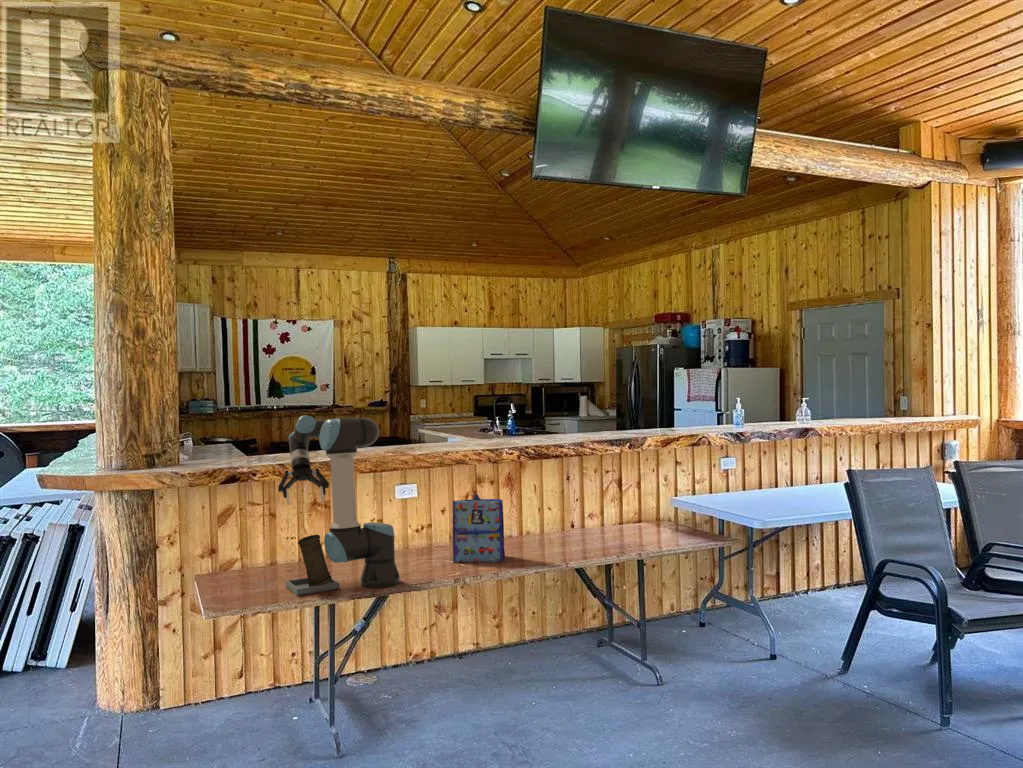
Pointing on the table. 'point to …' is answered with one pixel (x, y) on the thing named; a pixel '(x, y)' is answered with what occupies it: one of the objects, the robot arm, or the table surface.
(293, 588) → the tray
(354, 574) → the table surface
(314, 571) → the container
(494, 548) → the lunch bag
